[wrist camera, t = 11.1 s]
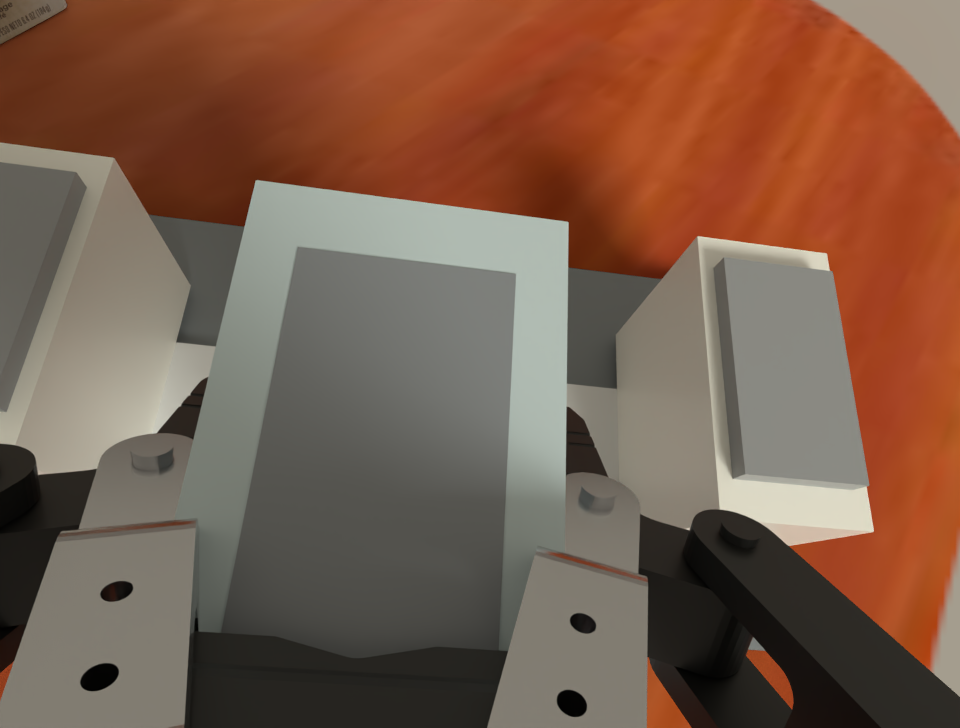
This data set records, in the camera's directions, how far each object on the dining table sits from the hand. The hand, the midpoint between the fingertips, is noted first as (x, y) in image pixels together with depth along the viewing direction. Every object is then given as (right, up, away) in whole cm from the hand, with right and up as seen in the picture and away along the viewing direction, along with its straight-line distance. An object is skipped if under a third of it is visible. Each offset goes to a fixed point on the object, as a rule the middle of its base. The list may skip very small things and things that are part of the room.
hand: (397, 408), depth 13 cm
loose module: (-1, -3, +3) cm, 5 cm away
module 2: (+9, -2, +10) cm, 14 cm away
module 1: (-11, 0, +8) cm, 14 cm away
